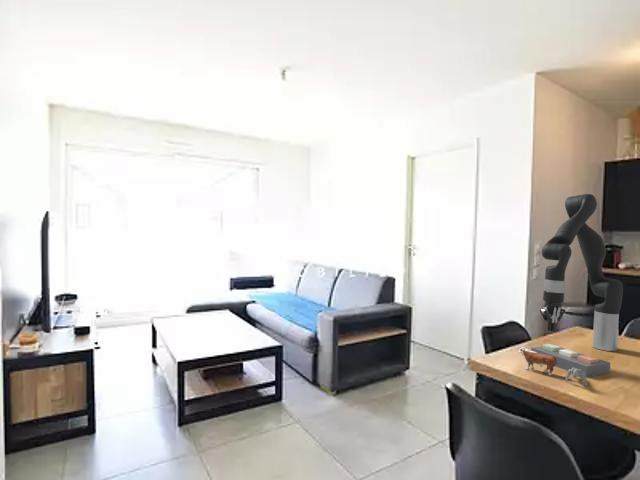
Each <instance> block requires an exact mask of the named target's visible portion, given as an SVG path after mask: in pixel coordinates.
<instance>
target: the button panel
mask: <svg viewBox="0 0 640 480" xmlns="http://www.w3.org/2000/svg"><path fill="white" fill-rule="evenodd" d="M560 347H561V346H560ZM564 349H566V348H564V347H561V350H564ZM530 350H531V351H534V352H537V353H540V354H545V355H551V356H554V357H555V358H556V359H557V363H556V364H555V363H554V364H555V365H554V367H557V368H560V369H562V370H565V371H568V370H569V369H572V368H574V369H575V368H576V369H581V371H582V372H584V373H585V376H586V378H588V377H594V376H600V375H601V376H602V375H606V374H610V373H611V362H609V361H605V360H604V359H600V358H597V359H598V363H595V364H588V363H585V362H582V361H579V360H577V358H578V357H572V358H570V357H567V356H564V355H561V354H559V351H555V352H552V351H549V350H546V349H543V348H542V346H534V347H531V348H530ZM578 353H579V356H581V355H585V354H584V353H580V352H578ZM555 362H556V361H555Z"/></svg>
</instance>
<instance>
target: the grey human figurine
mask: <svg viewBox="0 0 640 480" xmlns="http://www.w3.org/2000/svg"><path fill="white" fill-rule="evenodd" d="M570 376H572V378H573V379H576V378H579V379H581V380H582V381H583V382H584V383H583V386H584V387H588V382H587V381H588V377H586V376H585V373H584V372H582V371H581V369H576V368H575V369H574V368H572V369H569V370H567V372H566V376H565V377H566V378H565V383H567V382H568V383H570V381H569V378H570Z"/></svg>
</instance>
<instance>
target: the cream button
mask: <svg viewBox="0 0 640 480" xmlns="http://www.w3.org/2000/svg"><path fill="white" fill-rule="evenodd" d="M579 353H580V352H578V351H575V350H572V349H569V348H565V349H564V350H559V354H561V355H564V356H567V357H570V358H572V357H578V356H579Z"/></svg>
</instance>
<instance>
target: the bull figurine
mask: <svg viewBox="0 0 640 480" xmlns="http://www.w3.org/2000/svg"><path fill="white" fill-rule="evenodd" d="M518 353H519V354H521V355H522V357H523V359H524V361H525V362H526V363H527V366H526V368H525V369H524V370H525V371H528V370H534V369H535V367H534V364H535V365H539V367H540V368H541V367H543V366H546V369H544V370H543V371H542V372H543V373H548V372H549V373H548V374H547V375H548V376H553V371H554V368H555V366H554V365H555V364H556V363H557V359H556V358H555V357H554V356H551V355H545V354H540V353H537V352H534V351H531V349H530V348H526V347H525V346H522V347H521V348H519V350H518ZM555 361H556V362H555ZM554 363H555V364H554Z"/></svg>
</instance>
